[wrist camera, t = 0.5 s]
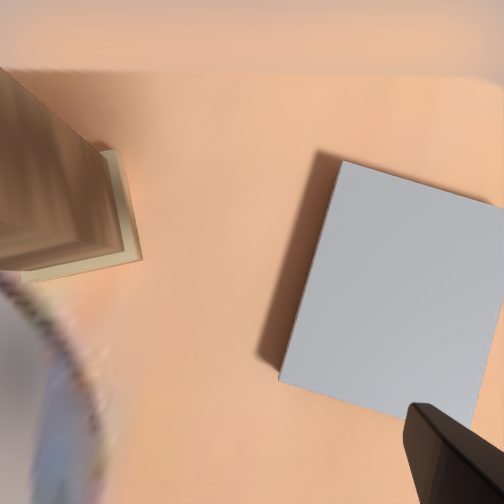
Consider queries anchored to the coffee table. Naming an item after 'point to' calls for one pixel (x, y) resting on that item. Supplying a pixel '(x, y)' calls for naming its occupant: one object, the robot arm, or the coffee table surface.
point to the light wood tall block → (58, 195)
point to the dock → (399, 297)
